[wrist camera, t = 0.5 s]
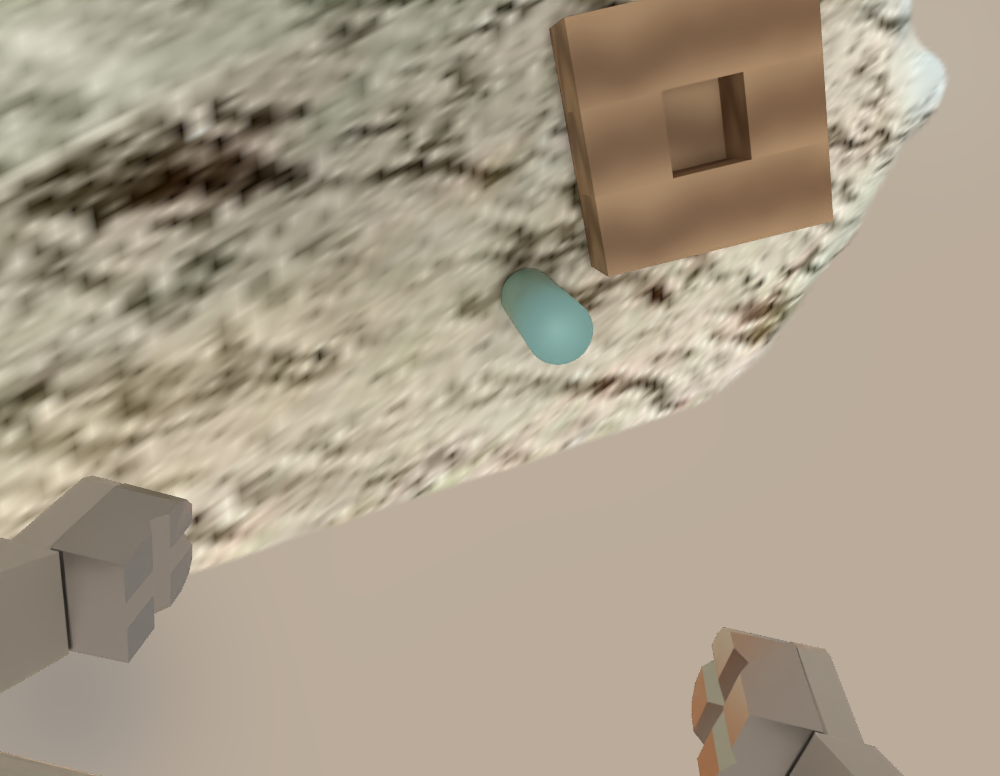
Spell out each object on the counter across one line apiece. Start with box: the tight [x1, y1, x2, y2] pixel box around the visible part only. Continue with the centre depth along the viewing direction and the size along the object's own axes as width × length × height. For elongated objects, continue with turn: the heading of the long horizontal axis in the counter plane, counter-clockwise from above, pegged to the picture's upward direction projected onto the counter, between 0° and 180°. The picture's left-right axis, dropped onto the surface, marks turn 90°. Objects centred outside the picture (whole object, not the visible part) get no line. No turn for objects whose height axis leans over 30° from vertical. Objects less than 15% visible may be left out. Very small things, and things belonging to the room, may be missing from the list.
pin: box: [501, 268, 593, 365], centre depth 48 cm, size 4×4×11 cm
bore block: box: [550, 0, 833, 277], centre depth 49 cm, size 16×16×4 cm
